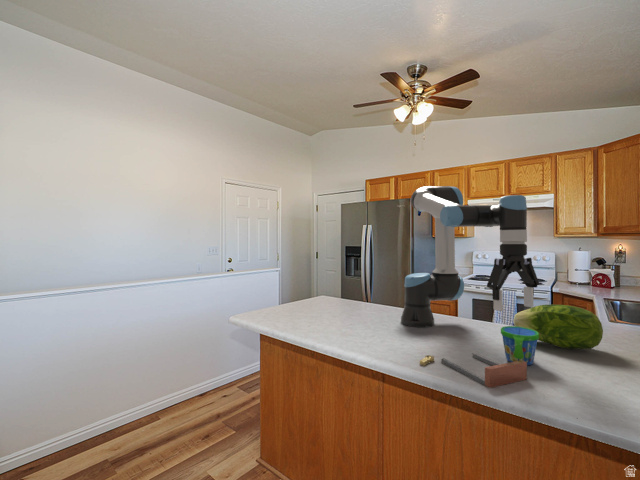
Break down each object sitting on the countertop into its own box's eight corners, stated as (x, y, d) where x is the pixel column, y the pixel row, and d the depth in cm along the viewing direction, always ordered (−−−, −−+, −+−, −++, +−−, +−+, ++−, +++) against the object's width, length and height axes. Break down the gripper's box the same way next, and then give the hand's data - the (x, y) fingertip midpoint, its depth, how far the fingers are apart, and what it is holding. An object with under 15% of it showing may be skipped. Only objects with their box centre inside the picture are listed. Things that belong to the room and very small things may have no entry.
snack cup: (536, 374, 93) (536, 339, 93) (496, 365, 100) (495, 333, 100) (541, 358, 105) (541, 327, 105) (505, 351, 112) (505, 322, 112)
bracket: (474, 356, 107) (474, 341, 107) (526, 379, 89) (526, 362, 89) (441, 362, 102) (441, 347, 102) (489, 387, 85) (489, 369, 85)
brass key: (427, 358, 106) (427, 354, 106) (435, 360, 104) (435, 356, 104) (417, 364, 101) (417, 360, 101) (426, 366, 99) (426, 362, 99)
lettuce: (515, 334, 131) (515, 297, 131) (600, 347, 115) (600, 304, 115) (511, 344, 119) (510, 303, 119) (605, 360, 103) (605, 313, 103)
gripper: (529, 242, 110) (529, 303, 110) (474, 243, 102) (474, 309, 102) (551, 242, 103) (552, 307, 103) (494, 243, 94) (494, 314, 95)
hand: (513, 308), depth 102 cm, fingers open, 13 cm apart
